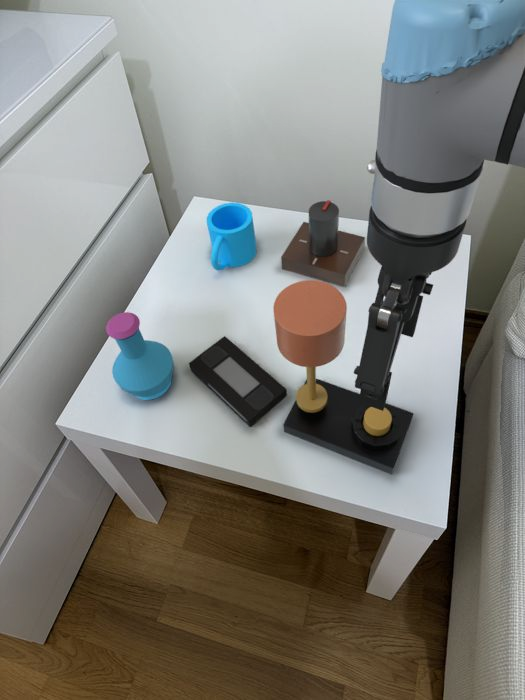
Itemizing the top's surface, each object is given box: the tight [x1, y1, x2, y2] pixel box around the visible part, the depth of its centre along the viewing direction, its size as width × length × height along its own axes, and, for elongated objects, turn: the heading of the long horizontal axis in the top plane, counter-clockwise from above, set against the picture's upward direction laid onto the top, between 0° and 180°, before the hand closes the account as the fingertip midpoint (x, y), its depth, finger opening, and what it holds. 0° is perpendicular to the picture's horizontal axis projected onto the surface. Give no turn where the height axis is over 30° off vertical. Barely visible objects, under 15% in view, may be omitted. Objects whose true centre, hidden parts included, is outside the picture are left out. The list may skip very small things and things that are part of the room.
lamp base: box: [282, 378, 415, 476], centre depth 73 cm, size 16×9×4 cm, turn 64°
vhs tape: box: [188, 335, 288, 428], centre depth 79 cm, size 8×14×2 cm, turn 43°
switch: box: [363, 407, 392, 436], centre depth 69 cm, size 4×4×2 cm
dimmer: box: [308, 199, 340, 257], centre depth 88 cm, size 5×5×8 cm
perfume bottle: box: [105, 311, 174, 401], centre depth 76 cm, size 9×9×15 cm
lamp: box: [273, 279, 348, 413], centre depth 65 cm, size 8×8×20 cm
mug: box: [206, 202, 258, 272], centre depth 93 cm, size 12×8×8 cm
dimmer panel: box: [280, 221, 366, 288], centre depth 93 cm, size 12×10×3 cm
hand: (387, 366), depth 59 cm, fingers open, 10 cm apart
